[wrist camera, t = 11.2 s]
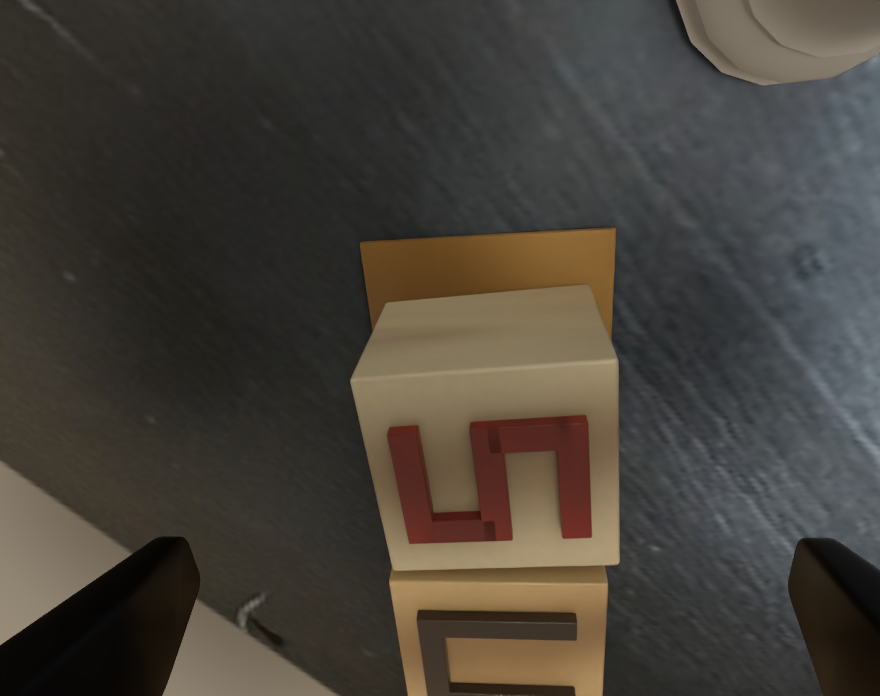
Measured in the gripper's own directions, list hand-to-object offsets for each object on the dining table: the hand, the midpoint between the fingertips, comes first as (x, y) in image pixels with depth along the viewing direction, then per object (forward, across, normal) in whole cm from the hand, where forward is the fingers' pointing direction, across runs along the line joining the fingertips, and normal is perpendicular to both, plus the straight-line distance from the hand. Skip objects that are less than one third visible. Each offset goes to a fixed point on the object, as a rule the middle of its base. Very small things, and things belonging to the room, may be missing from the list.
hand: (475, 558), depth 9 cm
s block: (+7, 0, +1) cm, 7 cm away
